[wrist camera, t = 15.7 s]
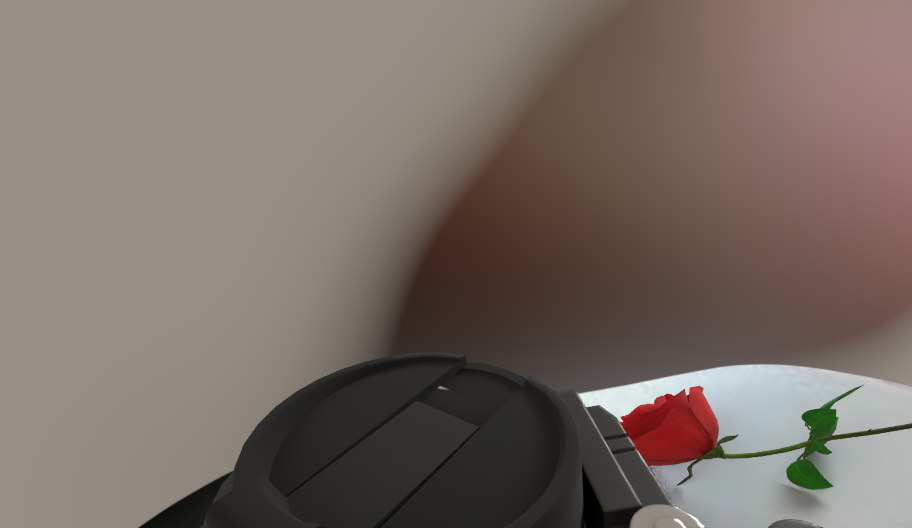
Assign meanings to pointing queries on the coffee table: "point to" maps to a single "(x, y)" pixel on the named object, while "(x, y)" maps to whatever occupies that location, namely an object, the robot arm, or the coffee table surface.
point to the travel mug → (411, 452)
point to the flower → (696, 431)
